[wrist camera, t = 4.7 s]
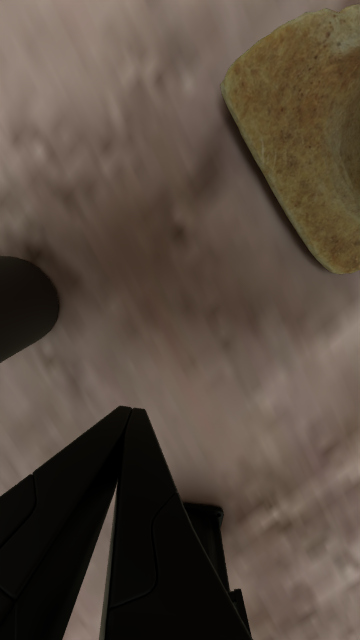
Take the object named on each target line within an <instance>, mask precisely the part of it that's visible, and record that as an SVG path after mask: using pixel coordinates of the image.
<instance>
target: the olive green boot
mask: <svg viewBox="0 0 360 640" xmlns="http://www.w3.org/2000/svg"><path fill="white" fill-rule="evenodd" d="M220 87H221V92H222V96H223V98H224V100H225V103H226V105H227V107H228V109H229V111H230V113H231V115H232V117H233V118H234V120H235V122H236V124H237V126H238V128H239V131H240V133H241V135H242V137H243V139H244V141H245V143H246V144H247V146H248V148H249V150H250V152H251V153H252V155H253V157H254V159H255V161H256V162H257V164H258V166H259V168H260V169H261V171H262V173H263V174H264V176H265V178H266V180H267V182H268V184H269V186H270V188H271V189H272V191H273V193H274V195H275V196H276V198H277V200H278V202H279V204H280V205H281V207H282V209H283V210H284V212H285V214H286V215H287V217H288V219H289V220H290V222H291V223H292V225H293V226H294V228H295V230H296V231H297V233H298V234H299V236H300V237H301V239H302V240H303V242H304V243H305V245H306V246H307V248H308V249H309V251H310V252H311V253H312V254H313V256H314V257H315V258H316V259H317V260H318V261H319V262H320V263H321V264H322V265H323V266H324V267H325V268H326V269H328V270H329V271H330V272H332V273H335V274H346V273H349V274H350V273H353V272H356V271H358V270H360V4H357V5H351V6H349V7H346V8H344V9H343V10H341V11H340V12H339V13H338V12H336V11H333V10H330V9H327V8H325V9H323V10H320V11H317V12H306V13H304V14H303V15H301V16H299V17H298V18H296V19H294V20H291V21H288V22H287V23H285V24H283V25H282V26H280V27H278V28H277V29H276V30H274V31H273V32H272V33H271V34H269V35H268V36H266V37H264V38H263V39H261V40H259V41H258V42H257V43H256V44H254V45H253V46H252V47H251V48H250V49H249V50H247V51H246V52H245V53H244V54H243V55H241V56H240V57H239V58H238V59H237V60H236V61H235V62H234V63H233V64H232V65H231V67H230V68H229V69H228V71H227V74H226V76H225V79H224V81H223V82H222V83H221V84H220Z"/></svg>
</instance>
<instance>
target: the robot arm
mask: <svg viewBox="0 0 360 640" xmlns="http://www.w3.org/2000/svg"><path fill="white" fill-rule="evenodd" d="M117 482H118V483H117ZM116 485H117V491H116V498H115V507H114V515H113V524H112V533H111V541H110V550H109V558H108V567H107V575H106V584H105V592H104V601H103V609H102V618H101V626H100V635H99V640H253V639H252V637H251V632H250V628H249V623H248V619H247V614H246V610H245V605H244V601H243V596H242V592H241V589H234V591H230V588H229V582H228V576H227V569H226V563H225V557H224V550H223V544H222V538H221V531H220V527H221V524H222V520H223V516H224V514H223V509H222V508H220V507H212V506H204V505H195V504H187V503H182V500H181V498H180V495H179V493H178V492H177V488H176V486H175V483H174V480H173V478H172V475H171V473H170V470H169V468H168V465H167V463H166V460H165V458H164V455H163V453H162V450H161V448H160V445H159V442H158V440H157V437H156V435H155V432H154V430H153V427H152V425H151V422H150V420H149V417H148V415H147V412H146V410H145V409H141V408H133V409H132V408H131V407H127V406H119V407H117V408H116V409H115V410H113V411H112V412H111V413H109V414H108V415H107V416H106V417H104V418H103V419H102V420H100V421H99V422H98V423H96V424H95V425H94V426H92V427H91V428H90V429H89V430H87V431H86V432H85V433H83V434H82V435H81V436H79V437H78V438H77V439H75V440H74V441H73V442H72V443H70V444H69V445H68V446H66V447H65V448H64V449H62V450H61V451H60V452H59V453H57V454H56V455H55V456H53V457H52V458H51V459H49V460H48V461H47V462H45V463H44V464H43V465H42V466H40V467H39V468H38V469H36V470H35V471H34V472H33V474H30V475H28V476H27V477H26V478H24V479H23V480H22V481H20V482H19V483H18V484H17V485H15V486H14V487H12V488H11V489H10V490H8V491H7V492H6V493H4V494H3V495H2V496H0V640H62V639H63V636H64V633H65V630H66V627H67V625H68V622H69V619H70V616H71V613H72V610H73V608H74V605H75V602H76V599H77V596H78V594H79V591H80V588H81V585H82V582H83V579H84V577H85V574H86V571H87V568H88V565H89V562H90V560H91V557H92V554H93V551H94V548H95V545H96V543H97V540H98V537H99V534H100V531H101V529H102V526H103V523H104V520H105V517H106V514H107V512H108V509H109V506H110V503H111V500H112V497H113V495H114V492H115V488H116Z"/></svg>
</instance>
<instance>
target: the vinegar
mask: <svg viewBox="0 0 360 640" xmlns="http://www.w3.org/2000/svg"><path fill="white" fill-rule="evenodd" d="M58 308H59V304H58V299H57V293H56V291H55V289H54V287H53V285H52V283H51V281H50V280H49V278H48V277H47V276H46V275H45V274H44V273H43V272H42V271H41V270H40V269H39V268H37V267H35V266H34V265H32V264H30V263H29V262H27V261H25V260H21V259H18V258H14V257H6V256H0V363H1V362H2V361H4V360H6V359H7V358H9V357H11V356H13V355H14V354H16V353H18V352H19V351H21V350H23V349H24V348H26V347H28V346H29V345H31V344H33V343H35V342H36V341H38V340H40V339H41V338H42V337H44V336H45V335H46V334H47V333H48V332H49V331H50V330H51V329H52V327H53V325H54V323H55V321H56V319H57V315H58Z"/></svg>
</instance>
